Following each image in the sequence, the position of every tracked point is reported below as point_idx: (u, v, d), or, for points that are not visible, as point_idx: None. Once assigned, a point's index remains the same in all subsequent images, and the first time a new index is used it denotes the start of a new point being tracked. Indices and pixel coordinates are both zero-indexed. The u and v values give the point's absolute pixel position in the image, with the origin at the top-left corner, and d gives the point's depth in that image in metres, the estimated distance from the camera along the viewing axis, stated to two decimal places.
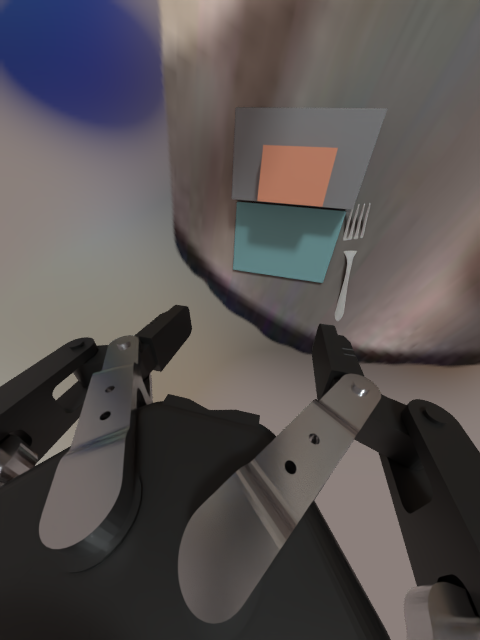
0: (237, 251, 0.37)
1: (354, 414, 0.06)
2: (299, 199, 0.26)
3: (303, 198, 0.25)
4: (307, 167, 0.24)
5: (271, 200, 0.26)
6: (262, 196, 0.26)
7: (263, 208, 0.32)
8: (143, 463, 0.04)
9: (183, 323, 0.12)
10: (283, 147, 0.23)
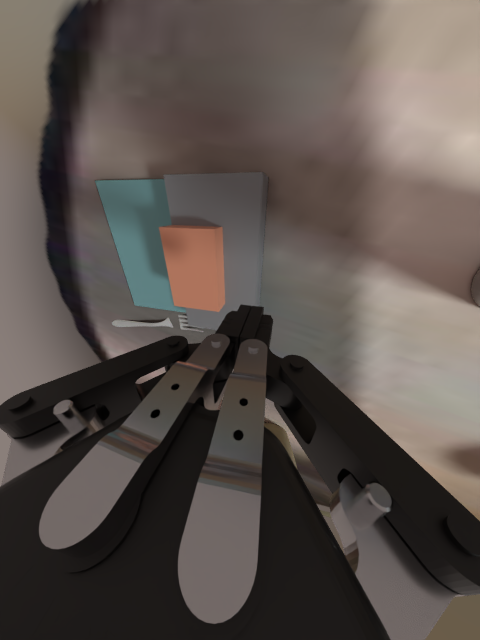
0: (120, 186, 0.24)
1: (258, 368, 0.07)
2: (174, 282, 0.22)
3: (175, 286, 0.22)
4: (201, 286, 0.21)
5: (164, 248, 0.20)
6: (165, 234, 0.19)
7: None
8: None
9: None
10: (214, 257, 0.19)
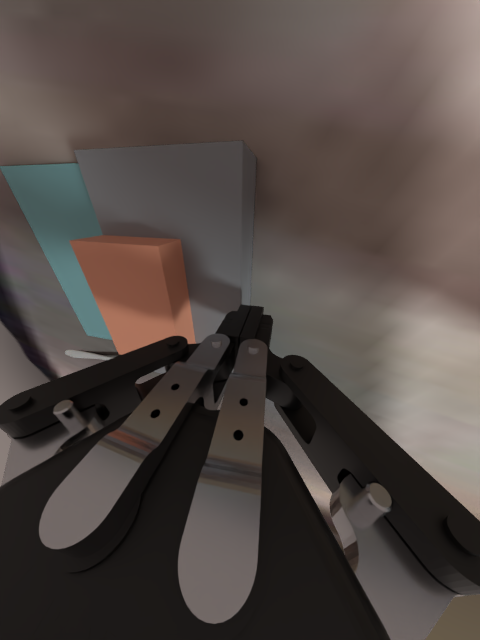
0: (36, 175, 0.16)
1: (258, 368, 0.07)
2: (111, 323, 0.14)
3: (115, 329, 0.14)
4: (152, 332, 0.14)
5: (86, 274, 0.12)
6: (81, 252, 0.11)
7: None
8: None
9: None
10: (164, 291, 0.11)
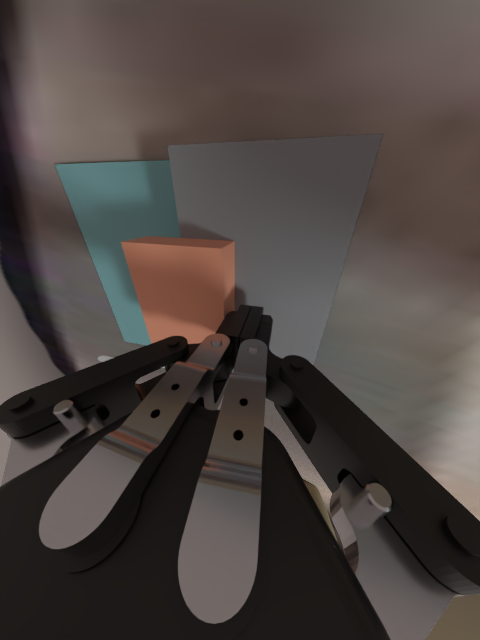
0: (96, 173, 0.15)
1: (258, 368, 0.07)
2: (153, 328, 0.13)
3: (156, 334, 0.14)
4: (197, 337, 0.13)
5: (133, 276, 0.12)
6: (132, 255, 0.11)
7: None
8: None
9: None
10: (220, 295, 0.11)
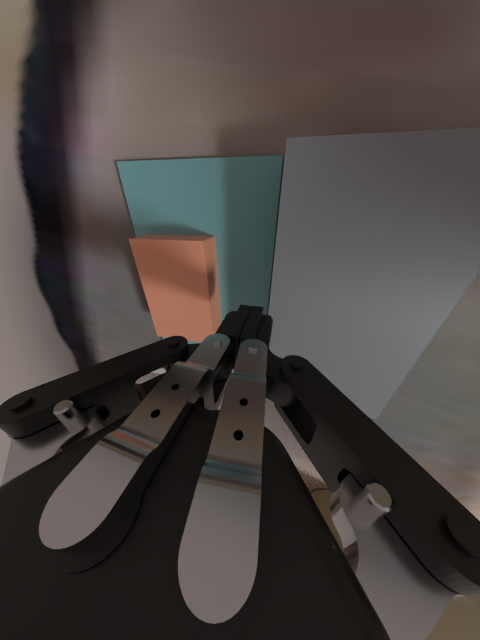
0: (163, 171, 0.13)
1: (258, 368, 0.07)
2: None
3: None
4: None
5: None
6: None
7: (265, 239, 0.14)
8: None
9: None
10: None
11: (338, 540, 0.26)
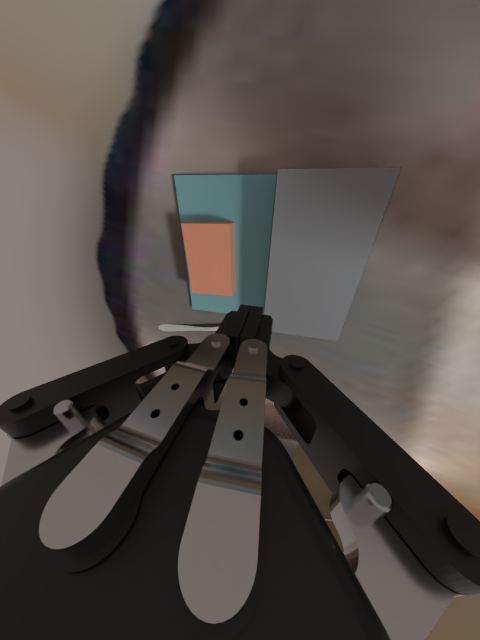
0: (204, 182, 0.22)
1: (258, 368, 0.07)
2: None
3: None
4: None
5: None
6: None
7: (266, 223, 0.23)
8: None
9: None
10: None
11: None
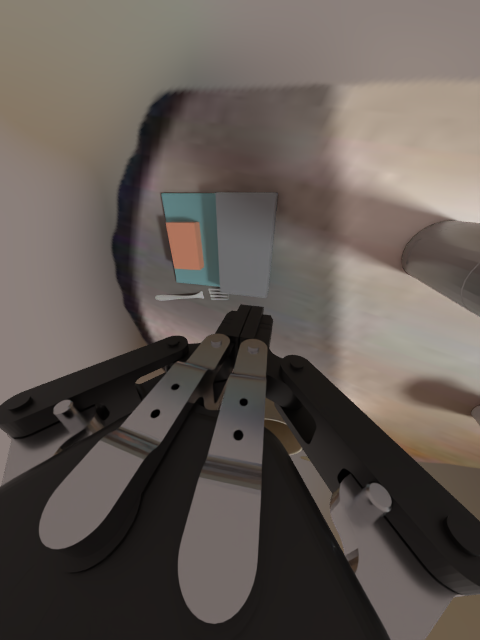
0: (179, 197, 0.36)
1: (258, 368, 0.07)
2: None
3: None
4: None
5: (199, 233, 0.38)
6: None
7: None
8: None
9: None
10: None
11: None
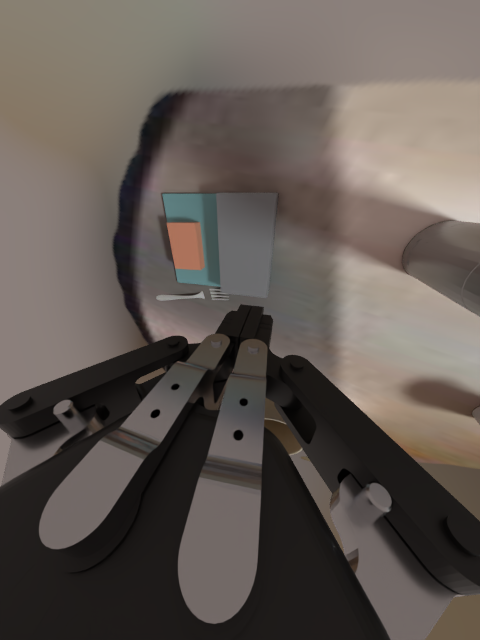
0: (180, 197, 0.36)
1: (258, 368, 0.07)
2: None
3: None
4: None
5: None
6: None
7: None
8: None
9: None
10: None
11: None
